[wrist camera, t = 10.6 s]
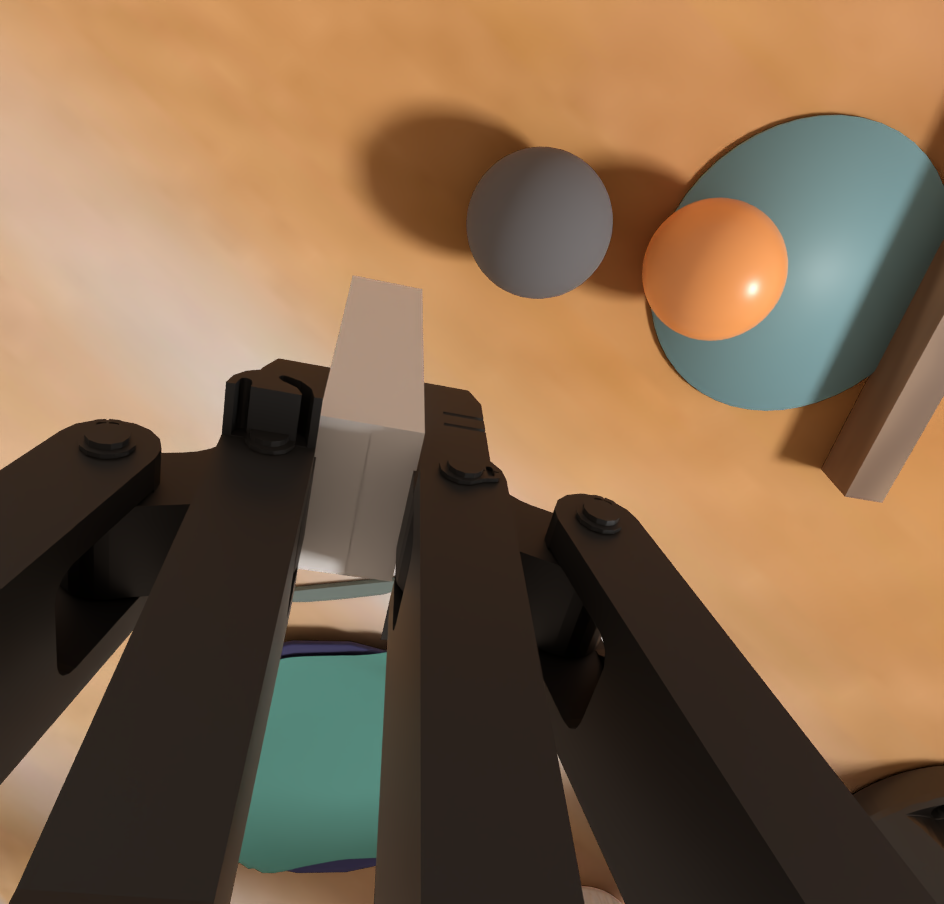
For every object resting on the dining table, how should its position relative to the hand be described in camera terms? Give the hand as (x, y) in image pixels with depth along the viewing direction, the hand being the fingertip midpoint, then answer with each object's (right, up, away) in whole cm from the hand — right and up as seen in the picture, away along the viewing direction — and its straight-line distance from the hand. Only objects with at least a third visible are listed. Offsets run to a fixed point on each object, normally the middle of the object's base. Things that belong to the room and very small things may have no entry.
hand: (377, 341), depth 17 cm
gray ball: (+5, +6, +12) cm, 15 cm away
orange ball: (+12, +5, +14) cm, 19 cm away
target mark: (+16, +5, +17) cm, 24 cm away
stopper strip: (+23, +4, +18) cm, 29 cm away
